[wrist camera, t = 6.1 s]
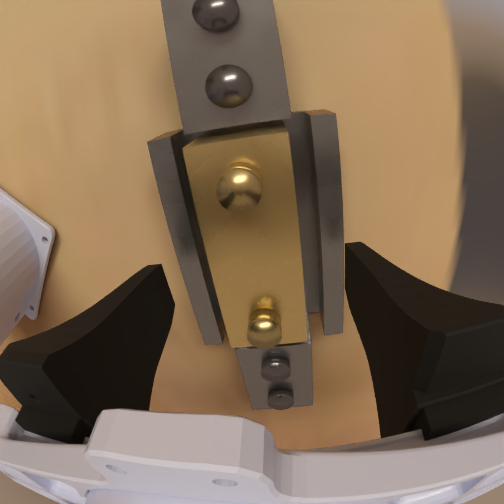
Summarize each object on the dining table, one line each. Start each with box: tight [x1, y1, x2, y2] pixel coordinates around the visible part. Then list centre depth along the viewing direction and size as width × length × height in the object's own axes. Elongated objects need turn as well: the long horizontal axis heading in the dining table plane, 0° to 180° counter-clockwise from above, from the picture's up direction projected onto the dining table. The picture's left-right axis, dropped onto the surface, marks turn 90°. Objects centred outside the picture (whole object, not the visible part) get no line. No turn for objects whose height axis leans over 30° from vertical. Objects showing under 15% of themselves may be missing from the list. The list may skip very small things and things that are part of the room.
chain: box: [147, 0, 344, 410], centre depth 15 cm, size 23×8×4 cm, turn 9°
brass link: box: [182, 121, 308, 349], centre depth 13 cm, size 9×4×5 cm, turn 9°
